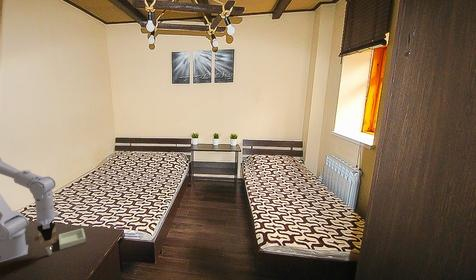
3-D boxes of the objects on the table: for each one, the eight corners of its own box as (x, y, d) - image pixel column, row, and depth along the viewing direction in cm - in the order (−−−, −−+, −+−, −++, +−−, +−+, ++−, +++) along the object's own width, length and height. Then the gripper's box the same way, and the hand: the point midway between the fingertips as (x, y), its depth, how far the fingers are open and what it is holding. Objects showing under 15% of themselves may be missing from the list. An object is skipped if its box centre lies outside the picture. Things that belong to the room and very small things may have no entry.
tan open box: (35, 248, 95) (33, 236, 94) (35, 241, 99) (34, 230, 98) (56, 242, 99) (55, 231, 98) (56, 236, 103) (55, 225, 102)
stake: (46, 257, 99) (45, 248, 98) (46, 255, 100) (45, 246, 100) (53, 255, 101) (52, 246, 100) (53, 253, 102) (52, 244, 101)
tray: (60, 250, 104) (59, 245, 103) (59, 239, 111) (58, 234, 111) (86, 242, 110) (85, 237, 110) (83, 232, 117) (83, 228, 117)
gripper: (57, 211, 93) (60, 241, 96) (56, 198, 104) (58, 225, 107) (34, 216, 89) (37, 247, 91) (35, 201, 100) (38, 230, 102)
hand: (47, 236), depth 99 cm, fingers closed on tan open box, 5 cm apart
